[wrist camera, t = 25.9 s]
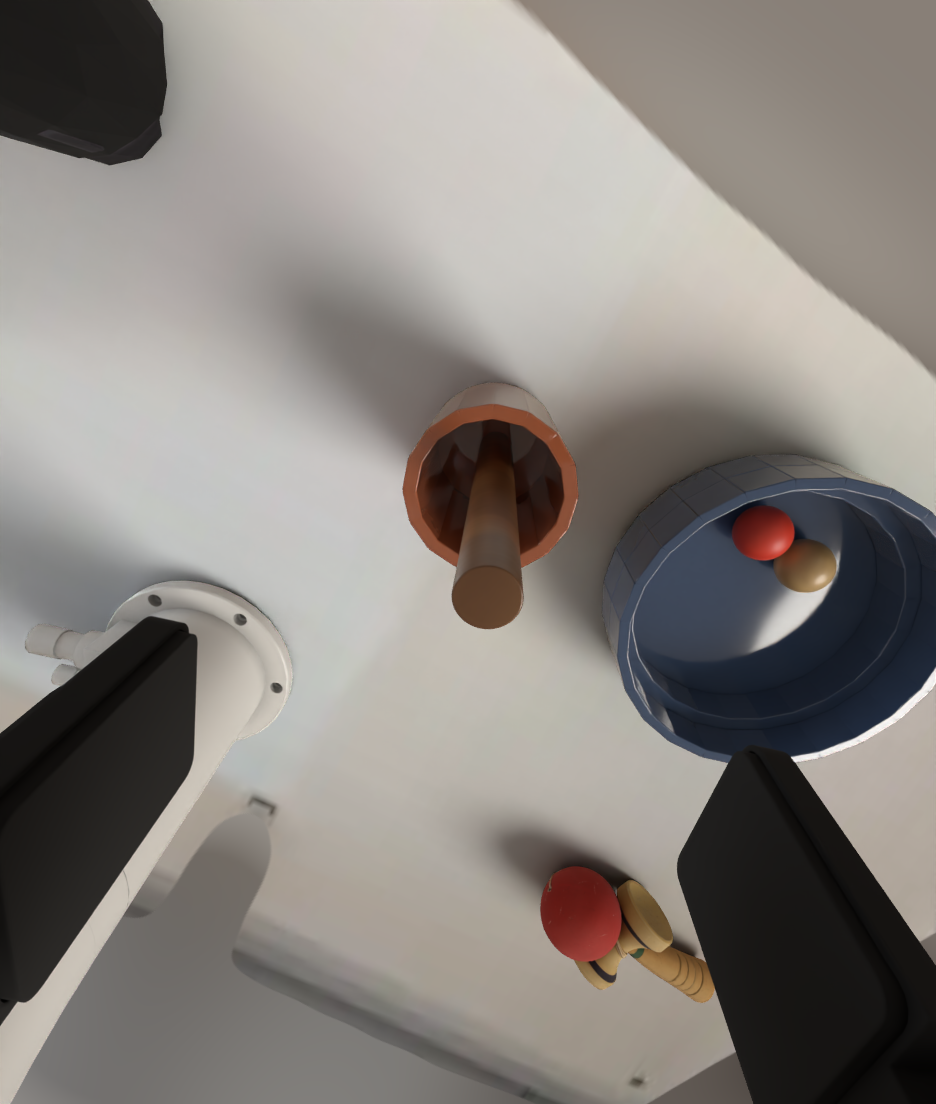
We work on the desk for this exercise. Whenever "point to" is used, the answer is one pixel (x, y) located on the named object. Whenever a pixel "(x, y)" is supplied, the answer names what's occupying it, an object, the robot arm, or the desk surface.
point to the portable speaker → (82, 76)
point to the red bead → (763, 532)
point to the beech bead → (805, 566)
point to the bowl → (774, 612)
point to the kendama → (616, 931)
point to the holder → (450, 462)
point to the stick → (490, 542)
